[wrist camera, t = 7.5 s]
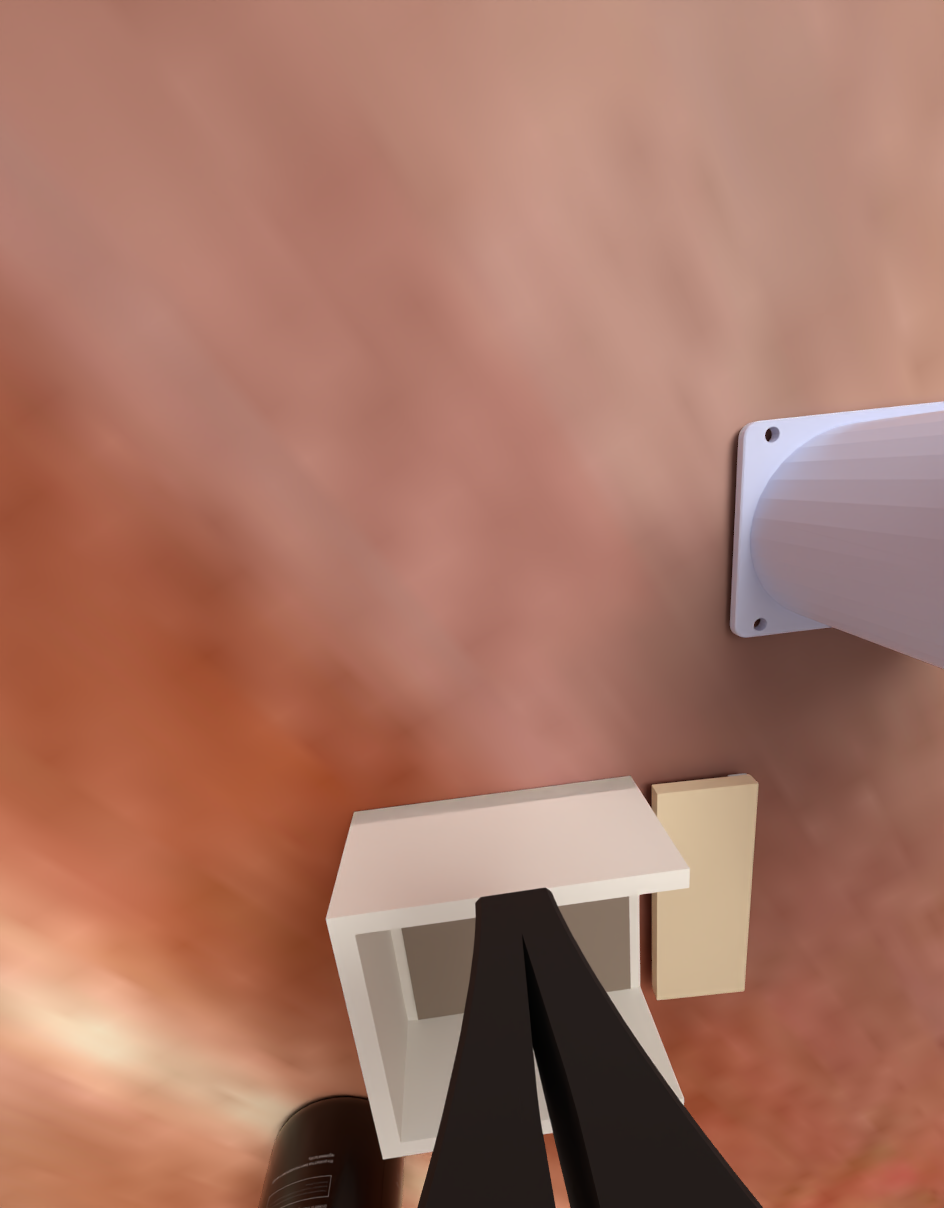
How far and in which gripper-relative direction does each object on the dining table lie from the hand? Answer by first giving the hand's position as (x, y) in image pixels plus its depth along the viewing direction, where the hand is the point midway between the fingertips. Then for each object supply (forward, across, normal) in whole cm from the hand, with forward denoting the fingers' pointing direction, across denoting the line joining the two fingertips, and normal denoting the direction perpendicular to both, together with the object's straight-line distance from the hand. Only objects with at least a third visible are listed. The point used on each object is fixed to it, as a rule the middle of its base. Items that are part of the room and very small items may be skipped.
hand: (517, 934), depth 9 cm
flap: (+10, -7, +11) cm, 16 cm away
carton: (+10, 0, +11) cm, 15 cm away
